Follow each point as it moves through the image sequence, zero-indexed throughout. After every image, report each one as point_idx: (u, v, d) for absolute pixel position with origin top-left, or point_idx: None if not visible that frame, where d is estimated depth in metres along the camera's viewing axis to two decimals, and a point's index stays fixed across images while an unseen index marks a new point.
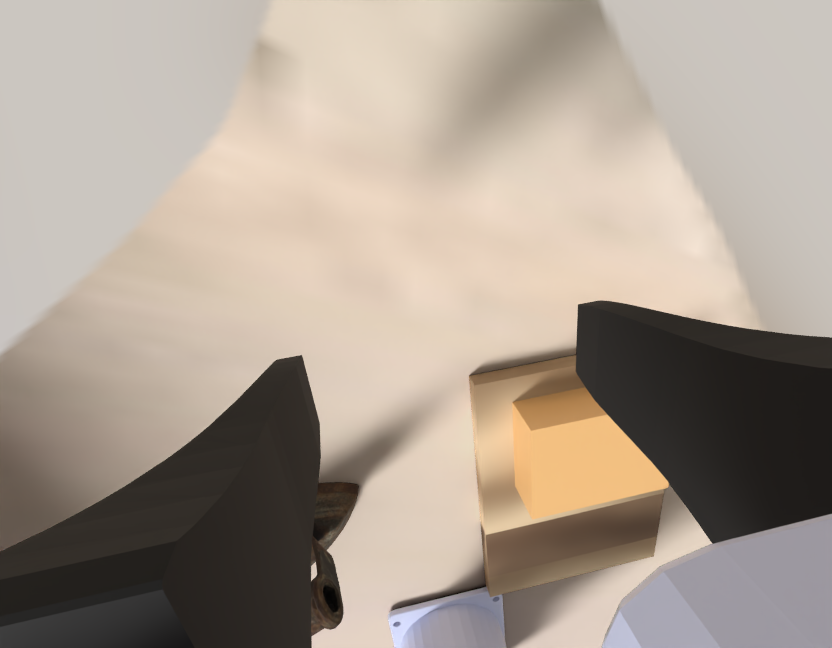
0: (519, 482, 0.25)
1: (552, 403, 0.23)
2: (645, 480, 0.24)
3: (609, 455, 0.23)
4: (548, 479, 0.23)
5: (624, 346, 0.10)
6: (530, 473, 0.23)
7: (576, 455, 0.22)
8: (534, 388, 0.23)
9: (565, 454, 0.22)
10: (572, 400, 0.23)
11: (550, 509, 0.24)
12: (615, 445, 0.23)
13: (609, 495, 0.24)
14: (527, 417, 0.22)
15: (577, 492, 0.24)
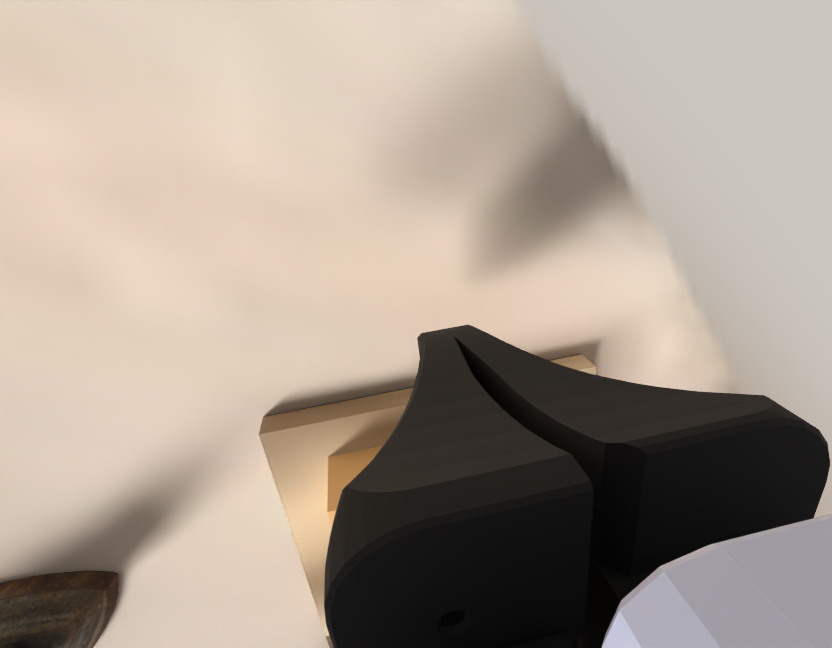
0: None
1: None
2: None
3: None
4: None
5: None
6: None
7: None
8: (361, 437, 0.15)
9: None
10: None
11: None
12: None
13: None
14: (335, 485, 0.14)
15: None
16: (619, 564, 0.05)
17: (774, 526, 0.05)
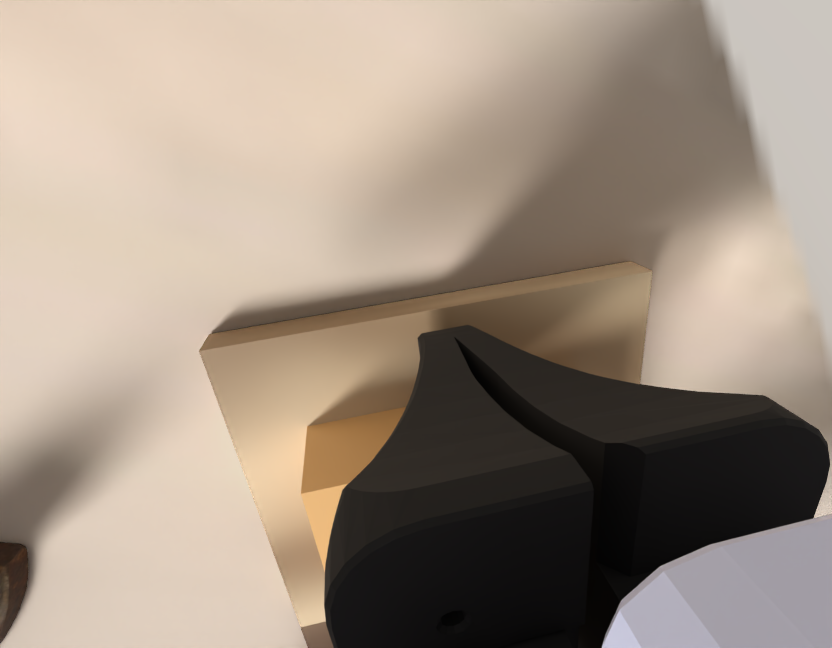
0: None
1: (378, 429, 0.12)
2: None
3: None
4: None
5: None
6: None
7: None
8: (340, 360, 0.12)
9: None
10: None
11: None
12: None
13: None
14: (313, 460, 0.11)
15: None
16: (619, 564, 0.05)
17: (774, 526, 0.05)
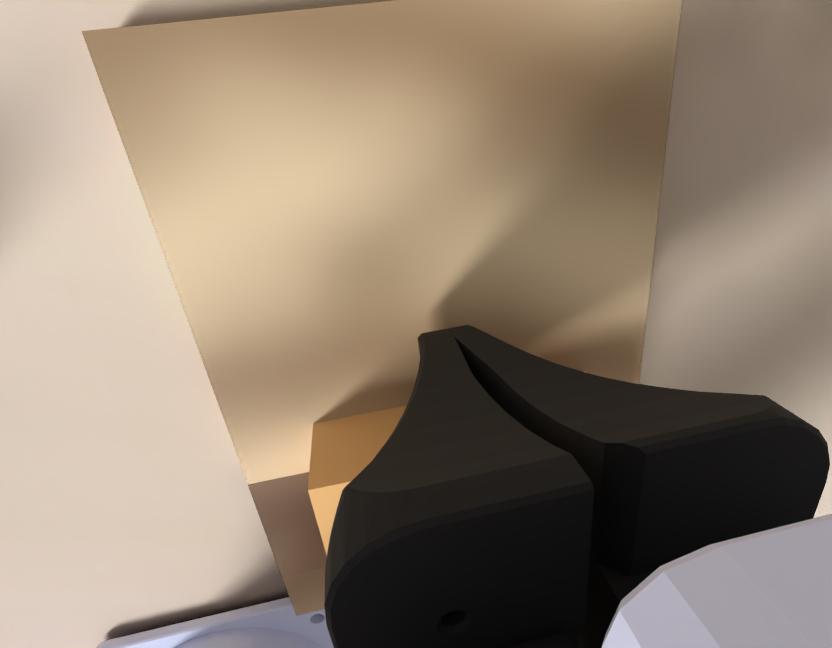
0: None
1: (384, 426, 0.12)
2: None
3: None
4: None
5: None
6: None
7: None
8: (276, 70, 0.09)
9: None
10: None
11: None
12: None
13: None
14: (320, 457, 0.11)
15: None
16: (619, 564, 0.05)
17: (774, 526, 0.05)
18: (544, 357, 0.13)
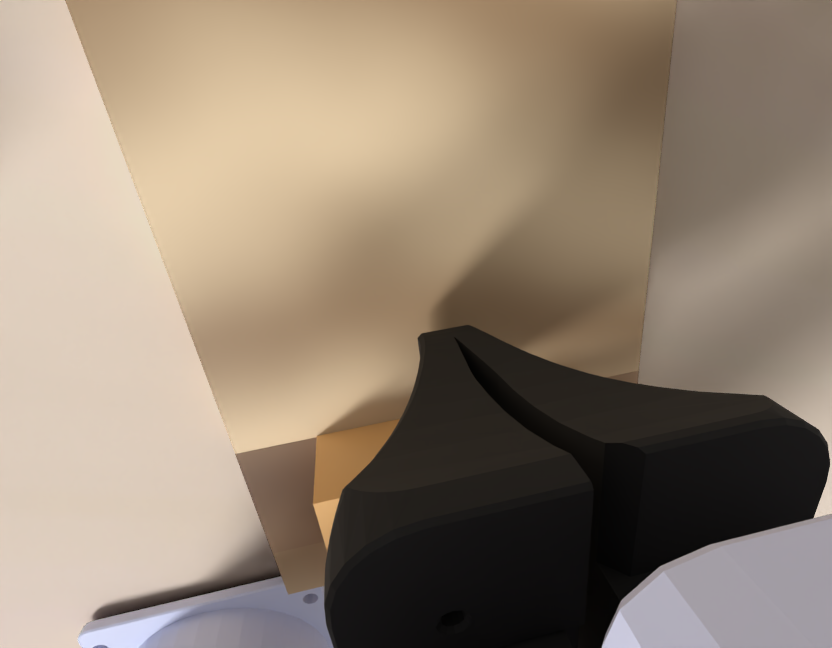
0: None
1: (387, 439, 0.12)
2: None
3: None
4: None
5: None
6: None
7: None
8: (257, 2, 0.08)
9: None
10: None
11: None
12: None
13: None
14: (324, 469, 0.11)
15: None
16: (619, 564, 0.05)
17: (774, 526, 0.05)
18: (542, 320, 0.12)
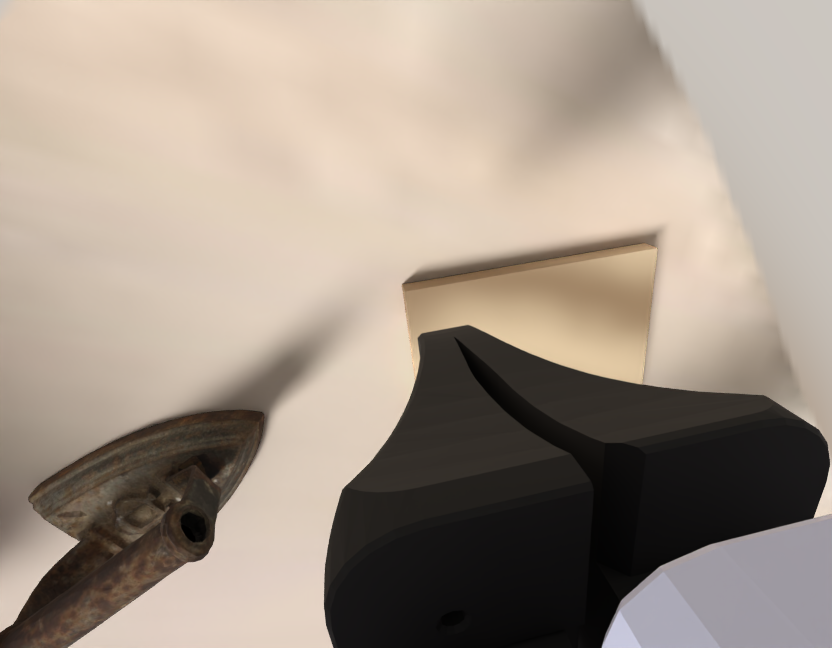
0: None
1: None
2: None
3: None
4: None
5: None
6: None
7: None
8: (478, 298, 0.20)
9: None
10: None
11: None
12: None
13: None
14: None
15: None
16: (619, 564, 0.05)
17: (774, 526, 0.05)
18: None
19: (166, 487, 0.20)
